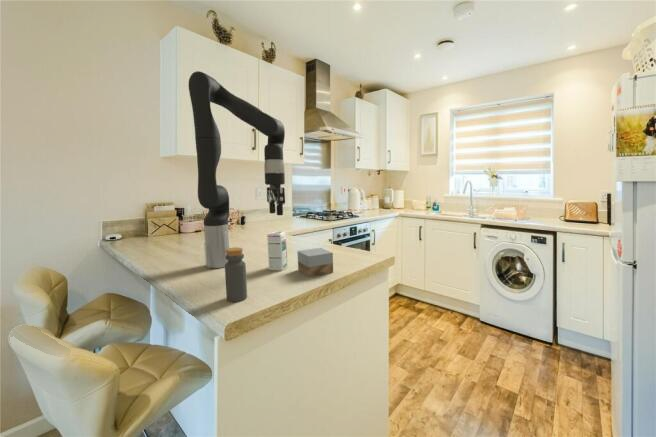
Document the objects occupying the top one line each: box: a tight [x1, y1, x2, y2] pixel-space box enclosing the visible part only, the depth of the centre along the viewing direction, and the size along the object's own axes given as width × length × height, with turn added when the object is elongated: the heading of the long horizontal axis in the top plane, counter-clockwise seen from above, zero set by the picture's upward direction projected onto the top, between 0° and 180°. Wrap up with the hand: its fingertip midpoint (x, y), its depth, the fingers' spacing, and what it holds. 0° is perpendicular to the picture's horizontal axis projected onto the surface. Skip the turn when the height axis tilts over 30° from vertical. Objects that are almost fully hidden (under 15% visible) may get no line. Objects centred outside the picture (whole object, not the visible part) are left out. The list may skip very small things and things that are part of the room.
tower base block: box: [297, 260, 334, 278], centre depth 114 cm, size 10×10×4 cm
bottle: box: [224, 247, 248, 303], centre depth 88 cm, size 6×6×15 cm
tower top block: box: [297, 247, 334, 267], centre depth 114 cm, size 10×10×4 cm
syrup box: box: [266, 231, 288, 272], centre depth 118 cm, size 6×6×14 cm
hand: (276, 214), depth 116 cm, fingers open, 8 cm apart
